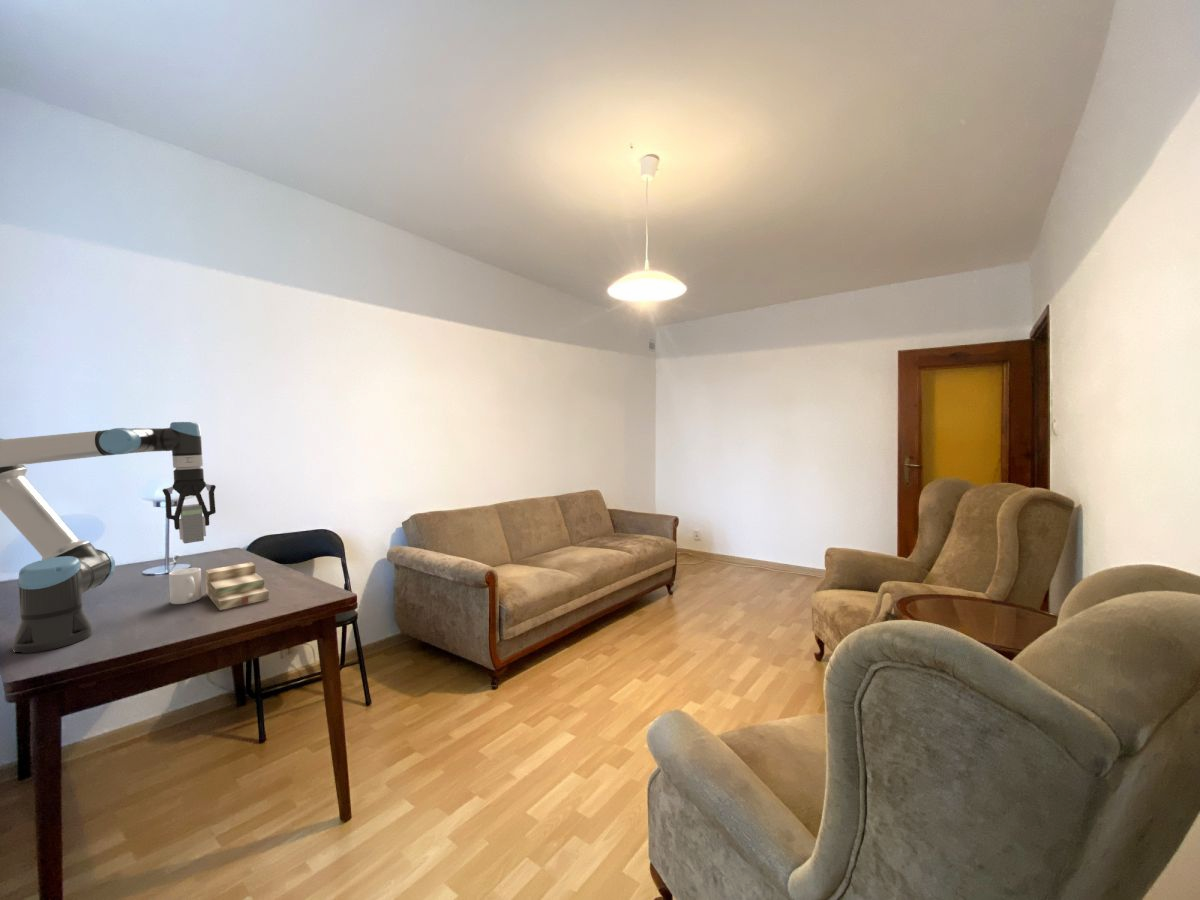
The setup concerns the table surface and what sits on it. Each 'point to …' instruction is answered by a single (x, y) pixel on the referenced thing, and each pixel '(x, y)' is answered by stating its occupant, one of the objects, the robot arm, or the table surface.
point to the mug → (185, 585)
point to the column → (192, 523)
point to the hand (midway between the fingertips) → (193, 537)
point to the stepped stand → (235, 586)
